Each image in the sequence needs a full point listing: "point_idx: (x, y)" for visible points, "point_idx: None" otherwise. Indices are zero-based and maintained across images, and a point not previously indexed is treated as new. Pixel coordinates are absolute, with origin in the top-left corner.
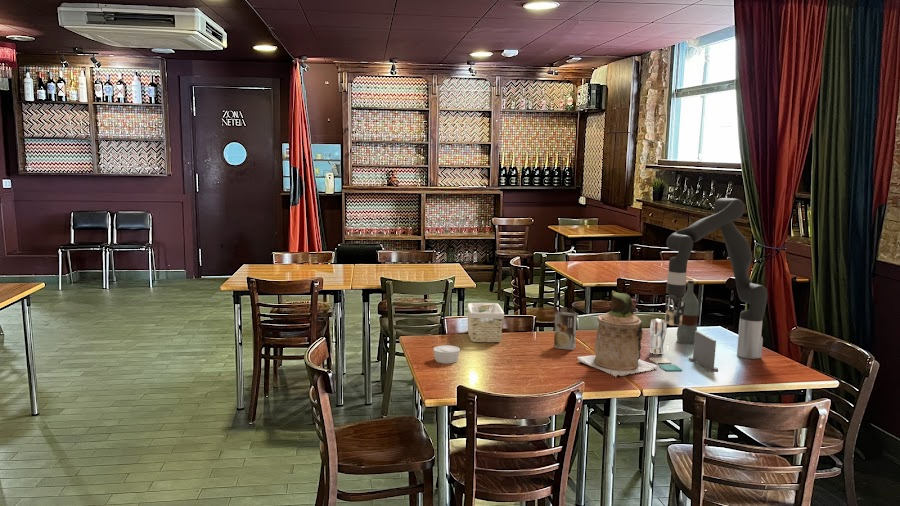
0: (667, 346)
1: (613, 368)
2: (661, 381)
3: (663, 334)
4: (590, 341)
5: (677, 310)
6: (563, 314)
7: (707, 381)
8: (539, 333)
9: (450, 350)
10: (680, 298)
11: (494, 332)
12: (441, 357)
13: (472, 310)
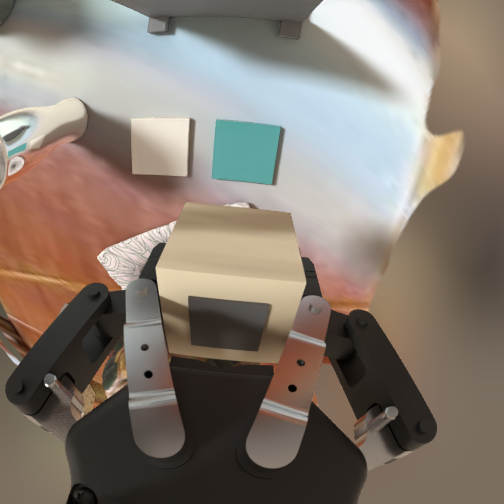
0: (20, 65)
1: None
2: (350, 244)
3: (42, 124)
4: (17, 256)
5: (353, 383)
6: None
7: (393, 116)
8: (12, 313)
9: None
10: (349, 489)
11: (83, 393)
12: None
13: None
